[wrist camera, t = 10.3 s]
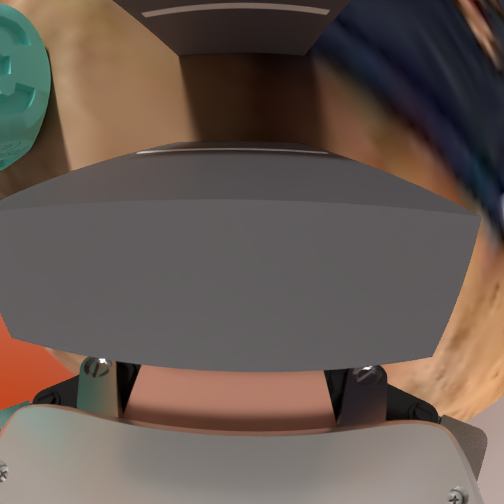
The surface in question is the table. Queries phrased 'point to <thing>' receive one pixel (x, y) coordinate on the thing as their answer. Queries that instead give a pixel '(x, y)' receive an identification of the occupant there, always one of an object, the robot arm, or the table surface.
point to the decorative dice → (21, 85)
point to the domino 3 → (231, 400)
